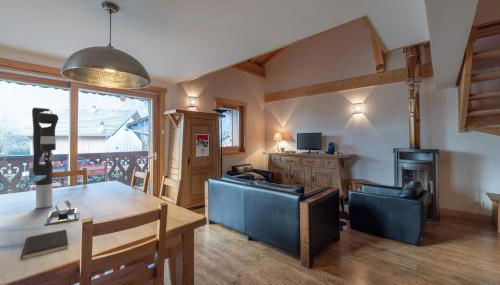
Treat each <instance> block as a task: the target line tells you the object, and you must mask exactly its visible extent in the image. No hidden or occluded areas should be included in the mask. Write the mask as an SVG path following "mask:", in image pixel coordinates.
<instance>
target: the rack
mask: <svg viewBox="0 0 500 285" xmlns="http://www.w3.org/2000/svg"><path fill="white" fill-rule="evenodd" d="M68 209H69V208H66V209H59V210H60V211H67V210H68ZM58 214H59V212H58V211H57V210H51V211H50V212H49V214H48V215H47V218H46V220H45V222H44V226H50V225H56V224H57V225H58V224H62V223H69V222H74V221H79V216H80V210H78V207H74V208H71V207H70V209H69V210H68V217H67V218H62V219H59V217H58Z"/></svg>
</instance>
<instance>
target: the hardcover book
mask: <svg viewBox="0 0 500 285" xmlns="http://www.w3.org/2000/svg"><path fill="white" fill-rule="evenodd" d="M68 245H69V241H68V232H67V229H62V230H56V231H52V232H45V233H42V234H41V233H40V234H37V235H31V236H27V237H26V238H25V242H24V245H23V248H22V252H21V255H20V260H23V259H24V260H25V259H28V258H32V257H35V256H40V255H43V254H47V253H52V252H56V251H60V250H64V249H67V248H68Z"/></svg>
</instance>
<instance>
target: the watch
mask: <svg viewBox="0 0 500 285" xmlns="http://www.w3.org/2000/svg"><path fill="white" fill-rule="evenodd" d="M61 202H64V204H65V205H66V206H67V209H68V210H69V209H71V207H72V204H71V202H70V201H69V200H68V199H61V200H59V201H58V202H56V204H55V207H54V208H55V211H58V212H59V214H58V217H59V219H62V218H67V217H68V210H67V211H60V210H61V209H59V208H58V204H59V203H61Z"/></svg>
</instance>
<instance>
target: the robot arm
mask: <svg viewBox="0 0 500 285" xmlns="http://www.w3.org/2000/svg"><path fill="white" fill-rule="evenodd" d="M31 115H32V116H31V117H32V127H33V128H32V130H33V131H32V132H33V133H32V147H33V148H32V149H33V158H32V159H33V160H32V174H33V176H36V177H37V176H45V177H44V178H41V179H38V180H36V181H35V208H37V209H45V208H49V207H52V206H53V205H54V204H53V170H54V169H53V168H54V167H53V164H52V163H53V162H52V161H53V159H54V158H53V157H54V156H53V155H54V154H53V151H56V150H57V147H56V144H57V143H56V142H57V141H56V140H57V139H56V128H57V124H58V121H59V116H58V114H57V113H53V110H52V109H50V108H49V107H33V108H32V110H31ZM40 124H45V125H50V126H47V127H46V126H44V127H43V126H41V125H40ZM42 156H43V162H42V163H41V159H42Z"/></svg>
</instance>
